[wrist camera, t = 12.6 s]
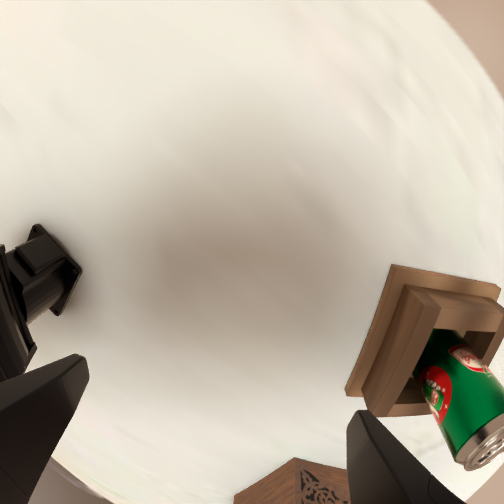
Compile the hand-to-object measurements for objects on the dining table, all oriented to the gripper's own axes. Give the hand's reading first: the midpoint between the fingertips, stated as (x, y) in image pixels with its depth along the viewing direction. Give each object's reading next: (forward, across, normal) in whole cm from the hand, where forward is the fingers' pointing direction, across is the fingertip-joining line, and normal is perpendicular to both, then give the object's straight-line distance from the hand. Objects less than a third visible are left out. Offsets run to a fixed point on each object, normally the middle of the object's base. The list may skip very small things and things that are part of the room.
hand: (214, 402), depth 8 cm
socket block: (+13, -16, +4) cm, 21 cm away
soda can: (+12, -16, +4) cm, 21 cm away
